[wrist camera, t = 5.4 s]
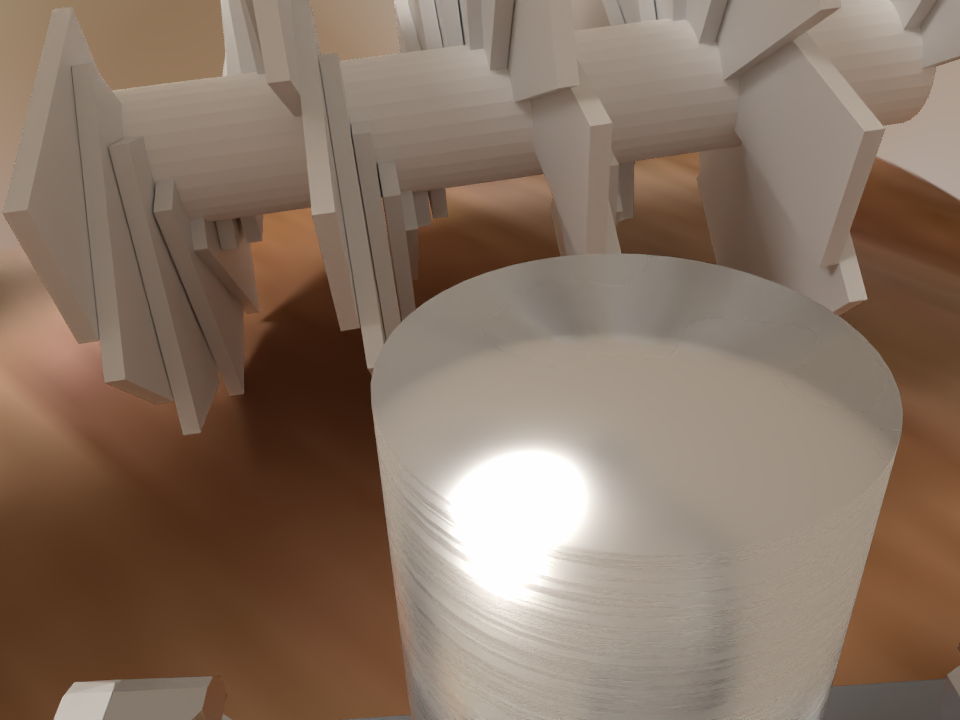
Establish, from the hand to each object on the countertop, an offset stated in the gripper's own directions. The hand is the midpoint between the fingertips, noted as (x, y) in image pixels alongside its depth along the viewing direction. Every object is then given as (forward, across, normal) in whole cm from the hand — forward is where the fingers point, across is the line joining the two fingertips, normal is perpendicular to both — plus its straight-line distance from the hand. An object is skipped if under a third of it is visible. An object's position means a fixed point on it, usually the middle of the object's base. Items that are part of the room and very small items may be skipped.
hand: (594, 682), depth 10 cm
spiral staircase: (+21, -1, +9) cm, 22 cm away
